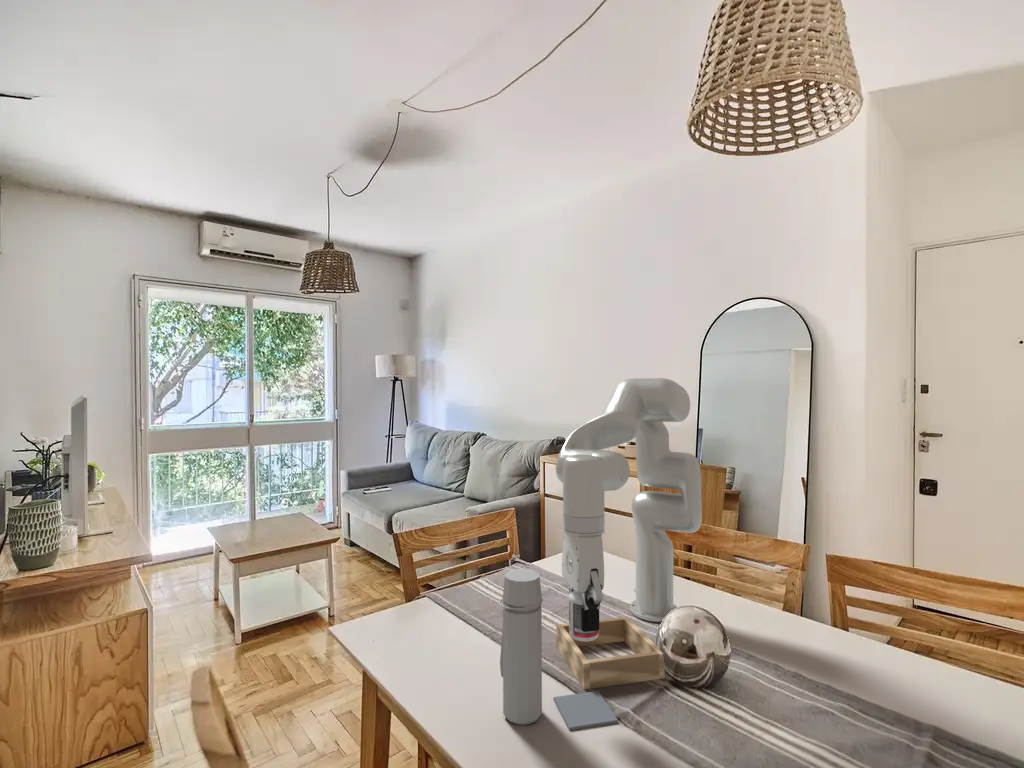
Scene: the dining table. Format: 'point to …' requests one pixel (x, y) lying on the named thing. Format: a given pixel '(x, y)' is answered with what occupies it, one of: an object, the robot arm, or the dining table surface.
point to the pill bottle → (578, 618)
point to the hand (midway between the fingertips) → (583, 621)
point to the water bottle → (522, 646)
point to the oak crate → (616, 668)
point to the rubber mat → (584, 710)
